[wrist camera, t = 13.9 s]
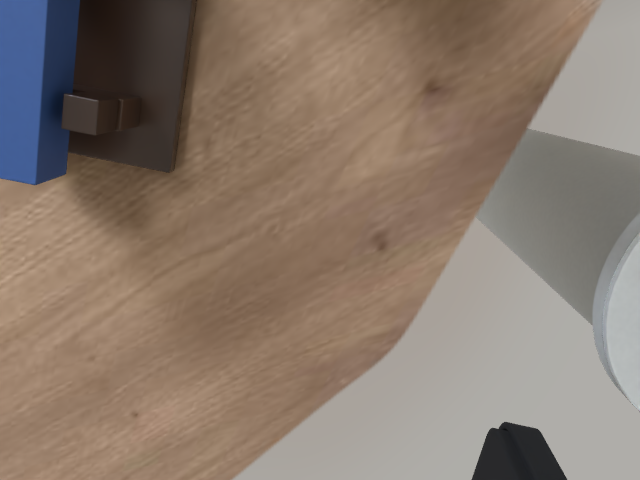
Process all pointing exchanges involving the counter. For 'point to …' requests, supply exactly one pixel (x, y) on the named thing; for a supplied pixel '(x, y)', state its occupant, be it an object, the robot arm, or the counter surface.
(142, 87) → the holder
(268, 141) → the counter surface
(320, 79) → the counter surface
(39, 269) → the counter surface
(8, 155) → the blue bar
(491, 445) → the robot arm
